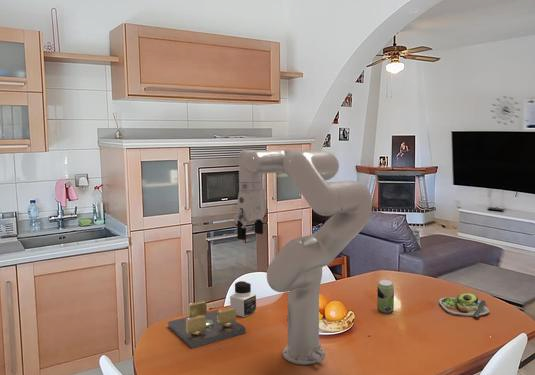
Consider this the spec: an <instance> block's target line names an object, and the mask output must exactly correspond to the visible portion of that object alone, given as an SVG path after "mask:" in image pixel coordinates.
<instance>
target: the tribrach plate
mask: <svg viewBox="0 0 535 375" xmlns="http://www.w3.org/2000/svg"><path fill="white" fill-rule="evenodd" d="M219 310H220V309H215V310H211V311H207V314H204V316H205V317H206V329H205V330H202V331H201V334H199V335H192V334H191V333H190V334H188V333H186V319H187V318H190V317H188V316H186V317H183V318H179V319H175V320H170V321H168V322H167V324H168V328H169V329H170V330H171V332H173V333H174V334H175V335H176V336H177V337H178V338H179V339H180V340H182V342H184V344H186V345H187V346H188V347H189V348H190V349H195V348H198V347H202V346H205V345H209V344H211V343H215V342H216V343H217V342H219V341H223V340H226V339H229V338H234V337H236V336H240V335H244V334H246V327H245V326H244V325H243V324H241V323H239V322H238V321H237V320H236V321H235V322H232V323H231V326H229V327H224V326H222V325H220V326H219V325H218V324H217V311H219ZM192 318H193V317H192Z"/></svg>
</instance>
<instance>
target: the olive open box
mask: <svg viewBox="0 0 535 375" xmlns="http://www.w3.org/2000/svg"><path fill="white" fill-rule="evenodd" d="M207 312H208V310H207V302H206V301H205V300H203V301H202V300H201V301H198V302H192V303H191V302H190V303H188V304H187V315H188V316H187V317H190V318H192V317H197V316H201V315H204V314H207Z"/></svg>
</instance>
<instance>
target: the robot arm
mask: <svg viewBox="0 0 535 375" xmlns="http://www.w3.org/2000/svg"><path fill="white" fill-rule="evenodd" d="M339 168H340V164H339V160H338V159H337V157H336V156H335V155H334V154H333V153H331V152H330V151H325V150H307V149H306V150H305V149H293V150H291V149H290V150H289V149H269V150H268V149H267V150H257V149H243V150H241V151H240V152H239V154H238V182H239V183H238V186H239V187H238V188H239V189H238V194H237V204H236V205H237V206H236V207H237V208H236V213H235V214H233V215H232V218H233V221H234V224H235V227H236V228H237V232H236V235H237V236H236V237H237V239H238V240H243V241H245V240H246V239H247V228H246V225H247V223H250V222H254V233H255V234H257V235H263V234H264V222H265V220H264V219H265V217H266V212H267V208H266V207H265V199H264V193H263V192H264V191H263V190H262V175H266V174H277V173H278V174H279V173H285V174H286V176H288V178H291V180H292V181H293V183H294V186H296V188H297V189H298V191H299V193H301V195H302V196H303V198H304V200H305V202H306V203H307V204H308V206H309V207H310V208H311V210H312V211H313V212H314V213H316V214H317V215H319V216H323V217H324V216H325V217H328V216H329V217H330V216H331V217H330V218H328V219H327V220H326V221H325V222H324V224H322V226H321V227H320V228H319V229H318V230H317V231H316V232H314V233H312V234H308V235H304V236H300V237H296V238H293V239H291V240H289V241H288V242H286V243H285V245H284V246H283V247H282V248H281V249H280V251H279V252H278V253H277V254H276V255H275V256H274V258H273V259H272V261H271V262H270V263H269V265H268V267H267V270H266V280H267V284H268V286H269V287H270V289H271V290H272V291H274V292H277V293H287V292H288V296H287V345H286V346H285V347H284V348H283V350H282V356H283V358H284V359H285V360H286V361H287V362H289V363H292V364H295V365H302V366H304V365H313V364H317V363H321V362H322V361H323V359H324V358H325V356H326V353H325V350H324V349H323V348H322V345H321V343H320V290H321V289H320V288H321V284H322V283H321V281H322V278H323V277H322V276H323V267H326V266H328V265H330V264H331V263H332V262H333V261H334V260H335V259H336V258H337V257H338V255H340V253H341V252H342V251H343V250H344V249H345V248H346V247H347V246H348V245H349V244H350V242H352V240H353V239H355V238H356V237H357V235H359V233H360V232H361V231H362V230H363V229H364V227H365V226H366V224H367V223H368V222H369V219H370V216H371V215H372V208H373V199H372V194H371V192H370V190H369V188H368V186H366V184H364V183H362V182H360V181H357V180H340V181H333V182H332V181H331V182H327V181H329V180H331V179H333V178H334V177H335V176H336V175H337V173H338V171H339Z"/></svg>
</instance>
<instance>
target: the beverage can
mask: <svg viewBox="0 0 535 375" xmlns="http://www.w3.org/2000/svg"><path fill="white" fill-rule="evenodd" d="M376 292H377V293H376V294H377V299H376V301H377V304H376V305H377V307H376V308H377V310H378V311H380V312H381V313H386V314H387V313H391V312H392V311H394V307H395V306H394V305H395V304H394V303H395V302H394V301H395V285H394V283H393V281H392V280H390V279H380V280H379V281H378V284H377V290H376Z"/></svg>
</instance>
